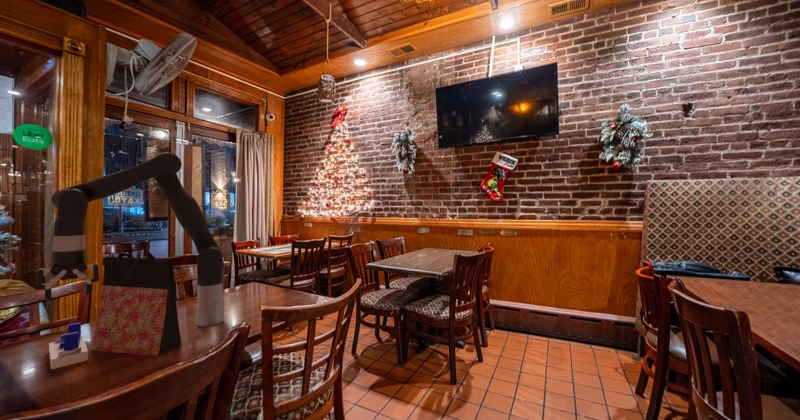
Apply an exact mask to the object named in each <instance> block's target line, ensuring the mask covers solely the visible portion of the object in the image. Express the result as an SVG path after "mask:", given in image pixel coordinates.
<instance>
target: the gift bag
mask: <svg viewBox="0 0 800 420" xmlns="http://www.w3.org/2000/svg"><path fill="white" fill-rule="evenodd" d="M144 253H145V257H146V258H145V257H141V256H142V255H143V254H144ZM102 260H103V261H102V262H103V277H102V285H101V293H100V303H99V308H98V315H97V321H96V326H95V331H94V336H93V340H92V345H91V348H90V350H91V351H96V352H106V353H118V354H119V353H120V354H130V355H132V354H133V355H141V356H150V357H151V356H154V357H159V356H161V355H163V354H165V353H167V352H169V351H171V350H172V349H174V348H176V347H178V346H180V345H181V344H182V338H181V331H180V325H179V316H178V309H177V296H176V282H175V281H176V280H175V271H174V270H176V271H179V272H180V271H181V268H182V264H181V265H174V266H173V263H172V259H167V258H165V259H164V258H156V257H155V256H154V255H153V254H152V253H151V252H150V251H144V252H142V253H141V254H140V255H139V256H138V257H134V256H132V255H131V254H129V253H126V252H120V253H118V252H116V256H105V257H102Z"/></svg>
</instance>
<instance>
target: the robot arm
mask: <svg viewBox="0 0 800 420" xmlns="http://www.w3.org/2000/svg"><path fill="white" fill-rule="evenodd" d="M182 165H183V164H182V160H181V158H180V157H179V156H178V155H176V154H175V153H172V152H161V153H159V154H157V155H155V156H154V157H152V158H150V159H149V160H147V161H145V162H142V163H140V164H137V165H134V166H132V167H128V168H126V169H122V170H119V171H117V172H113V173H109V174H107V175H103V176H100V177H97V178H95V179H92V180H90V181H87V182H84V183H79V184H77V185H72V186H69V187H65V188H61V189H59V190H57V191H55V192H54V193H53V195H51V198H50V199H51V203H52V205H53V206H54V207H55V208H57V218H56V219H54V223H53V239H52V247H51V249H52V259H51V261H52V263H51V264H52V265H51V267H50V268H38V269H37V272H36V273H37V274H36V282H35V288H36V289H43V290H44V299H45V300H47V301H48V302H50V301H52V295H53V294H52V287H53V286H54V285H55V284H56V283H57V282H58V281H68V280H76V279H78V278H80V280H82V281H84V283H85V286H84V287H85V289H84V290H85V292H84V293H85V294H84V295H85V296H89V295H90V294H91V293H92V290H93V288H92V287H93V283H95V282H99V280H100V274H99V273H100V272H99V265H98V263H96V262H95V263H92V264H86V247H87V245H86V237H85V236H86V235H85V232H86V231H85V220H86V217H87V212H88V208H89V207H88V206H89V203H92V202H93V201H96V200H103V199H106V198H109V197H111V196H114V195H117V194H120V193H122V192H124V191H127V190H129V189H131V188H134V187H135V186H137V185H139V184H141V183H143V182H146V181H148V180H151V179H153V178H154V179H155V181H156V182H157V184H158V185H159V187H160V188H161V190H162V191H163V193H164V195H165V197H166V199H167V202H168V203H169V205H170V207H171V210H172V212H173V214H174V216H175V218H176V219H177V221H178V223H179V225H180V226H181V227H182V229H183V230H184V231H185V233H186V234H187V235H188V236H189V238H190V239H191V240H192V241H193V244H194V246H195V248H196V250H197V254H198V255H197V259H196V261H197V262H196V266H197V267H196V271H197V272H196V274H197V275H196V276H197V277H196V279H197V293H196V294H197V296H196V297H197V298H196V299H197V300H196V302H197V303H196V304H197V305H196V308H197V309H196V311H197V312H196V326H198V327H211V326H217V325H219V324H221V323H222V322H223V321H224V320H225V319H224V318H225V299H223V281H224V279H223V267H224V266H223V260H224V252H223V250H222V249H221V248H220V246H219V245H218V243H217V241H216V240H215V239H214V237H213V235H212V233H211V231H210V228H209V225H208V223H207V220H206V218H205V215H204V213H203V211H202V210H201V207H200V206H199V203H198V202H197V200H196V199H195V198H194V197H193V196H192V195H191V194H190V193H189V192H188V191H187V190H186V189H185V188H184V186H183V185H182V183H181V181H180V179H179V177H178V174H177V173H179V171H180V170H181V168H182V167H183V166H182ZM87 269H89V270H90V271H91V272H92V278H89V277H88V276H87V275H85V274H84V272H85V271H87ZM49 273H51V274H52V275H53V277H52V278H50V280H49V281H48V282H47V283H45V284H44V283H43V281H44V277H45V276H47V275H48V274H49Z"/></svg>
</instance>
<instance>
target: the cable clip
mask: <svg viewBox="0 0 800 420" xmlns="http://www.w3.org/2000/svg"><path fill="white" fill-rule="evenodd" d="M81 328H82V322H81V321H79V322H73V323H69V324H68V325H67V332H66V333H62V334H61V336H60V337H61V341H60V349H61V348H64V351H67V350H71V349H75V348H79V344H80V340H81V336H82V331H81V330H82V329H81Z"/></svg>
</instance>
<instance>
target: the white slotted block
mask: <svg viewBox="0 0 800 420" xmlns="http://www.w3.org/2000/svg"><path fill="white" fill-rule="evenodd" d="M60 341H61V336H60V337H55V341H54V342H49V343H48V358H49V364H50V365H49V366H50V370H55V369H58V368H62V367H63V368H64V367H67V366H71V365H74V364H78V363H81V362H85V361H89V350H88V346H87V345H86V342H85V340H84V337H83V335H81V340H80V344H79V348H75V349H71V350H67V351H64V348H61V349H60Z"/></svg>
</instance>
